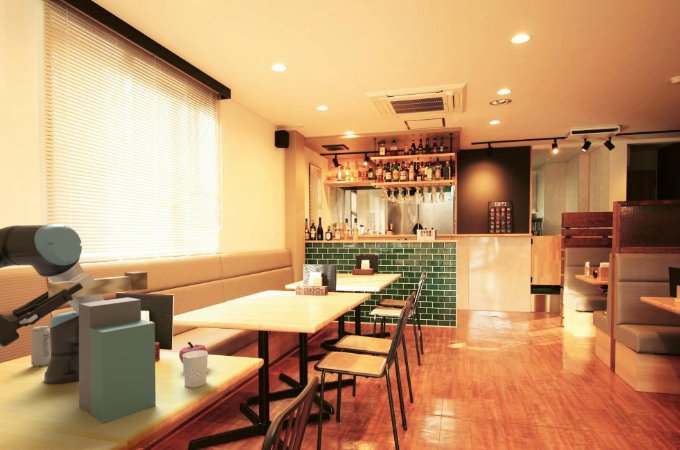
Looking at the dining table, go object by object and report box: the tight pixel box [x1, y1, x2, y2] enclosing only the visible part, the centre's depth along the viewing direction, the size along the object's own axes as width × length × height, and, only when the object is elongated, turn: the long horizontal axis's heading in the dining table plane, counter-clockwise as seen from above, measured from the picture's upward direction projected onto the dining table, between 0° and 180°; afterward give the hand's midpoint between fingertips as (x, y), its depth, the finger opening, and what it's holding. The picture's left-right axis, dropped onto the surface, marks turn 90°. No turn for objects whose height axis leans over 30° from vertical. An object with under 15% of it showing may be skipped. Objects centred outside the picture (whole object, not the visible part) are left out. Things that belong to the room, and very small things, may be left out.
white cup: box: [182, 350, 209, 388], centre depth 134 cm, size 8×8×10 cm
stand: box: [78, 297, 157, 424], centre depth 118 cm, size 14×18×30 cm
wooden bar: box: [47, 270, 148, 298], centre depth 111 cm, size 23×6×5 cm, turn 140°
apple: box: [178, 341, 207, 364], centre depth 149 cm, size 10×9×10 cm
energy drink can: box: [30, 325, 51, 368], centre depth 158 cm, size 6×6×15 cm
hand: (88, 277), depth 109 cm, fingers closed on wooden bar, 4 cm apart
